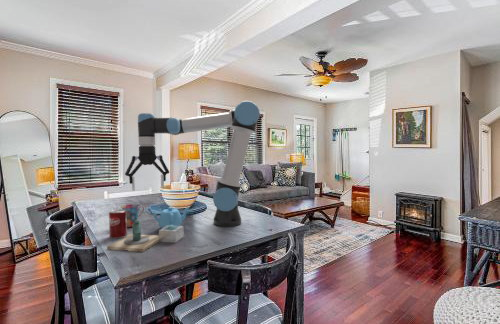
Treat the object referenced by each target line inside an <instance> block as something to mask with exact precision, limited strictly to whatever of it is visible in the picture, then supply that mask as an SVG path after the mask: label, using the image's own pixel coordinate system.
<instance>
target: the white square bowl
mask: <svg viewBox="0 0 500 324" xmlns="http://www.w3.org/2000/svg"><path fill="white" fill-rule="evenodd" d="M169 226H170V225H167V226H165V227H164V228H160V229H159V230H158V236H159V242H161V243H178V242H179V241H181V239H182V238H184V236H185V233H184V228H185V227H184V226H183V225H181V226H174V230H169ZM159 242H158V243H159Z"/></svg>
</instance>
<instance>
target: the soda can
mask: <svg viewBox="0 0 500 324" xmlns="http://www.w3.org/2000/svg"><path fill="white" fill-rule="evenodd" d="M108 222H109V223H108V224H109V225H108V227H109V228H108V229H109V238H111V239H112V240H118V239H119V240H120V239H123V238H125V237H127V236H128V227H127V212H126V210H123V209H122V208H121V209H113V210H111V211H109V212H108Z"/></svg>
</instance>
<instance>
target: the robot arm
mask: <svg viewBox="0 0 500 324" xmlns="http://www.w3.org/2000/svg"><path fill="white" fill-rule="evenodd" d="M259 119H260V109H259V107H258V106H257V104H256V103H254V102H253V101H251V100H243V101H241V102H239V103H238V104H237V105H236V106H235V108H234V109H230V110H229V111H228V112H223V113H221V112H220V113H217V114H208V115H202V116H194V117H188V118H182V119H181V118H178V117H155V114H154V113H150V112H149V113H148V112H147V113H143V112H142V113H139V114H138V115H137V128H138V129H137V132H138V133H137V134H138V156H135V155H133V156H131V160H130V163H129V165H128V167H127V169H126V171H125V173H124V175H125V176H126V177H128V179H129V184H130V185H131V190H132V192H134V191H136V190H135V189H136V188H135V176H134V175H135V174H136V173H137V171H138V170H139V169H140V168H141V167H142V166H147V165H148V166H152V165H153V166H154V167H155V168H156V169H157V170H158V171H159V172H160V173H161V175H160V188H161V189H165V182H166V180H167V179H166V178H167V177H166V176H167V174H170V170H169V168H168V167H167V165H166V163H165V161H164V159H163V155H161V154H159V155H156V147H155V145H156V134H169V135H172V136H178V135H182V134H187V133H195V132H201V131H208V130H215V129H216V130H217V129H222V128H229V127H231V128H232V130H233V133H232V137H231V140H230V144H229V148H228V152H227V156H226V161H225V163H224V169H223V172H222V176H221V178H219V179H218V181H217V182H216V185H215V187H216V188H215V191H214V194H213V197H212V201H213V205H214V206H215V208H216V211H215V214H214V217H213V225H215V226H217V227H235V226H238V225H240V224H242V217H241V214H240V211H239V195H240V191H241V187H242V185H241V183H240V178H241V174H242V171H243V166H244V163H245V160H246V155H247V151H248V147H249V143H250V140H251V139H250V138H251V135H253V134H254V133H255V132H256V128H257V125H258V120H259ZM156 160H159V163H160V164H161V166H162V167H161V166H160V165H159V164H158V163H157V162H156ZM136 161H139V162H138V163H137V165H136V166H135V167H134V169H133V166H134V164H135V162H136ZM132 169H133V170H132ZM131 170H132V171H131Z"/></svg>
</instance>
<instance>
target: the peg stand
mask: <svg viewBox="0 0 500 324" xmlns="http://www.w3.org/2000/svg"><path fill="white" fill-rule="evenodd" d="M139 221H140V219H139V220H134V224H132V227H131V228H132V233H130V234H128V235H126V236H125V237H123V238H120V239H119V240H117V241H115V242H113V243H111V244H109V245H108V246H107V250H110V249H111V250H112V251H113V250H114V251H123V250H128V251H127V252H137V251H140V252H141V253H144V252H145V251H147V250H148V248H149V249H150V248H151V247H153V246H154V245H156V244H158V243H159V235H157V234H156V235H154V234H141V232H142V231H141V229H142V228H141V227H142V226H141V222H140V223H139ZM140 252H139V253H140Z"/></svg>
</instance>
